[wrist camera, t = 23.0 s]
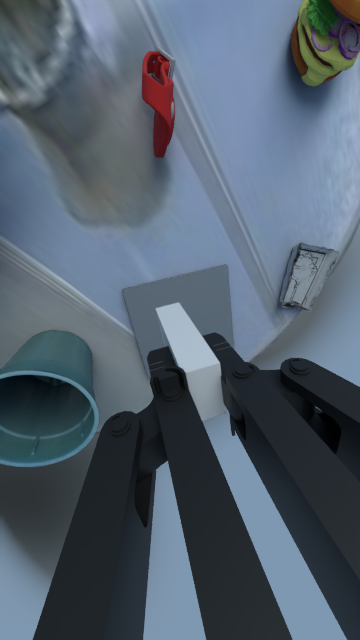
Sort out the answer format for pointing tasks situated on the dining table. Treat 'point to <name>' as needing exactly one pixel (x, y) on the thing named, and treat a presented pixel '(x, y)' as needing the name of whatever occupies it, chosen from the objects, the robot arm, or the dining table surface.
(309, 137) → the dining table surface
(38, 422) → the flower pot
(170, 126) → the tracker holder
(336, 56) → the cheeseburger
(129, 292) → the mat
